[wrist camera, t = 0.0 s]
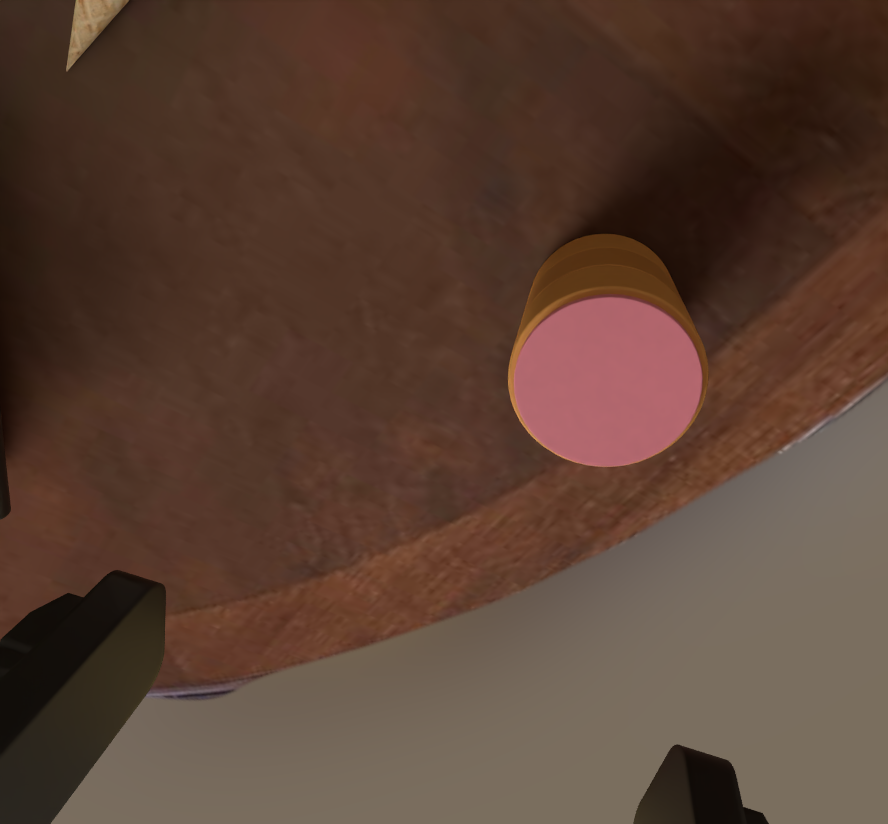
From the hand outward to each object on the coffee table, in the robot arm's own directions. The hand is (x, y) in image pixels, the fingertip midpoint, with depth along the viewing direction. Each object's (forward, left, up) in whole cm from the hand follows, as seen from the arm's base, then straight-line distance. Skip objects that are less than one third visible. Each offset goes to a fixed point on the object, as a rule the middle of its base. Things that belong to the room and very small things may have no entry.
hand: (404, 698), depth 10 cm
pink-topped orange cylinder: (+2, -3, -18) cm, 19 cm away
